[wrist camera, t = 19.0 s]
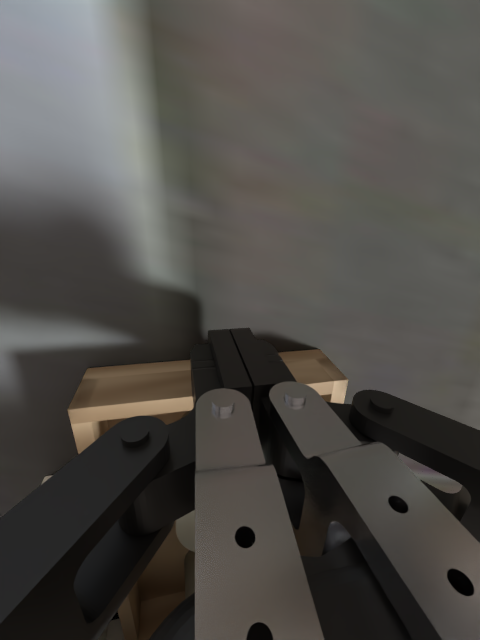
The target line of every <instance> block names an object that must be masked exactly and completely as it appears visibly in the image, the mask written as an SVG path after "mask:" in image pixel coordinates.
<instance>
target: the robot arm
mask: <svg viewBox="0 0 480 640" xmlns="http://www.w3.org/2000/svg"><path fill="white" fill-rule="evenodd" d="M190 362H191V387H192V397H193V406H194V407H193V409H192V410H191V412H190V413H189V414H187V415H186V416H185V417H183V418H182V419H180V420H178V421H175V422H173V423H170V424H168V425H166V424H165V423H164V422H163V421H162V420H160V419H158V418H156V417H153V416H135V417H131V418H127V419H125V420H123V421H121V422H119V423H117V424H116V425H114V426H113V427H112V428H110V429H109V430H108V431H107V432H105V433H104V434H103V435H102V436H101V437H99V438H98V439H97V440H96V441H94V442H93V443H92V444H91V445H89V446H88V447H87V448H86V449H85V450H83V451H82V452H81V453H80V454H78V455H77V456H76V457H75V458H74V459H72V460H71V461H70V462H69V463H67V464H66V465H65V466H64V467H63V468H61V469H60V470H59V471H58V472H56V473H55V474H54V475H53V476H51V477H50V478H49V479H48V480H47V481H45V482H44V483H43V484H42V485H40V486H39V487H38V488H37V489H36V490H34V491H33V492H32V493H31V494H29V495H28V496H27V497H26V498H25V499H23V500H22V501H21V502H20V503H18V504H17V505H16V506H15V507H13V508H12V509H11V510H10V511H9V512H7V513H6V514H5V515H4V516H2V517H1V518H0V640H98V639H99V637H100V636H101V634H102V633H103V631H104V630H105V628H106V627H107V625H108V624H109V622H110V621H111V619H112V618H113V616H114V615H115V613H116V612H117V610H118V609H119V607H120V606H121V604H122V603H123V601H124V600H125V598H126V597H127V595H128V594H129V592H130V591H131V589H132V588H133V586H134V585H135V583H136V582H137V580H138V579H139V578H140V576H141V575H142V573H143V572H144V570H145V569H146V567H147V566H148V564H149V563H150V561H151V560H152V558H153V557H154V555H155V554H156V552H157V551H158V549H159V548H160V546H161V545H162V543H163V542H164V540H165V539H166V537H167V536H168V534H169V533H170V531H171V529H172V527H173V524H174V521H175V520H177V519H179V518H181V517H183V516H184V515H186V514H188V513H190V512H192V511H194V510H195V592H194V593H192V594H191V595H190V596H189V597H187V598H186V599H185V600H184V601H182V602H181V603H180V604H179V605H178V606H177V607H176V608H175V609H174V610H173V611H172V612H171V613H170V614H169V615H168V616H167V617H166V618H165V619H164V620H163V622H162V623H161V624H160V625H159V627H158V628H157V629H156V630H155V632H154V633H153V634H152V635H151V637H150V639H149V640H480V430H477V429H475V428H472V427H470V426H467V425H465V424H462V423H460V422H457V421H455V420H452V419H450V418H447V417H445V416H442V415H440V414H437V413H435V412H432V411H430V410H427V409H425V408H422V407H420V406H417V405H415V404H412V403H410V402H407V401H405V400H402V399H400V398H397V397H395V396H392V395H390V394H387V393H384V392H381V391H376V390H363V391H360V392H358V393H356V394H355V395H354V397H353V401H352V405H351V404H342V403H333V402H326V401H325V400H324V399H323V398H322V397H321V396H320V395H319V393H318V392H317V391H316V390H314V389H313V388H312V387H310V386H308V385H306V384H303V383H299V382H297V381H296V379H295V378H294V376H293V375H292V373H291V372H290V370H289V369H288V367H287V366H286V364H285V363H284V362H283V360H282V358H281V357H280V355H279V354H278V352H277V350H276V349H275V347H274V346H273V345H271V344H270V343H268V342H267V341H265V340H256V339H255V337H254V335H253V334H252V332H251V330H250V328H238V329H223V330H209V331H208V344H197V345H195V346H194V347H193V349H192V350H191V352H190ZM399 453H401V454H403V455H405V456H407V457H409V458H411V459H413V460H415V461H417V462H419V463H421V464H423V465H425V466H427V467H429V468H431V469H433V470H435V471H437V472H439V473H441V474H443V475H445V476H447V477H449V478H451V479H453V480H455V481H457V482H459V483H460V484H462V485H463V486H462V489H461V490H460V491H459V492H458V493H454V494H450V493H445V492H443V491H441V490H439V489H437V488H435V487H433V486H431V485H429V484H427V483H425V482H424V481H422V480H420V479H419V478H418V477H417V476H416V475H415V474H414V473H413V472H412V471H411V470H410V469H409V468H408V467H407V466H406V465H405V464H404V463H403V461H402V460H401V459H400V458H399V457H398V454H399Z"/></svg>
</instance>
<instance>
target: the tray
mask: <svg viewBox="0 0 480 640" xmlns="http://www.w3.org/2000/svg"><path fill="white" fill-rule="evenodd" d="M278 354H279V355H280V357H281V358H282V360H283V362H284V363H285V364H286V366H287V367H288V369H289V370H290V372H291V373H292V375H293V376H294V378H295V379H296V381H297V382H299V383H303V384H306V385H308V386H310V387H312V388H313V389H314V390H316V391H317V392H318V393H319V395H320V396H321V397H322V398H323V399H324V400H325V401H326V402H333V403H342V404H344V399H345V394H346V389H347V384H348V379H347V378H346V377H345V376H344V374H343V373H342V372H341V371H340V370H339V369H338V368H337V367H336V366H335V365H334V364H333V363H332V362H331V361H330V360H329V359H328V358H327V357H326V355H325V354H324V353H323V352H322V351H321V350H320V349H315V350H303V351H291V352H279V353H278ZM193 407H194V406H193V397H192V387H191V362H190V360H181V361H169V362H156V363H144V364H132V365H120V366H108V367H95V368H87V370H86V372H85V374H84V376H83V378H82V380H81V383H80V385H79V387H78V389H77V391H76V393H75V395H74V397H73V399H72V401H71V403H70V405H69V408H68V414H69V418H70V422H71V426H72V430H73V434H74V438H75V442H76V446H77V450H78V454H80V453H81V452H82V451H83V450H85V449H86V448H87V447H88V446H89V445H91V444H92V443H93V442H94V441H96V440H97V439H98V438H99V437H101V436H102V435H103V434H104V433H105V432H107V431H108V430H109V429H110V428H112V427H113V426H114V425H116V424H117V423H119V422H121V421H123V420H125V419H127V418H131V417H135V416H153V417H156V418H158V419H160V420H162V421H163V422H164V423H165V424H166V425H168V424H170V423H173V422H175V421H178V420H180V419H182V418H183V417H185V416H186V415H187V414H189V413H190V412H191V410H192V409H193ZM194 592H195V510H194V511H192V512H190V513H188V514H186V515H184V516H183V517H181V518H179V519H177V520H175V521H174V524H173V527H172V529H171V531H170V533H169V534H168V536H167V537H166V539H165V540H164V542H163V543H162V545H161V546H160V548H159V549H158V551H157V552H156V554H155V555H154V557H153V558H152V560H151V561H150V563H149V564H148V566H147V567H146V569H145V570H144V572H143V573H142V575H141V576H140V578H139V579H138V580H137V582H136V583H135V585H134V586H133V588H132V589H131V591H130V592H129V594H128V595H127V597H126V598H125V600H124V601H123V603H122V604H121V606H120V607H119V609H118V614H119V618H120V622H121V626H122V630H123V634H124V638H125V640H149V639H150V637H151V635H152V634H153V633H154V632H155V630H156V629H157V628H158V627H159V625H160V624H161V623H162V622H163V620H164V619H165V618H166V617H167V616H168V615H169V614H170V613H171V612H172V611H173V610H174V609H175V608H176V607H177V606H178V605H179V604H180V603H181V602H182V601H184V600H185V599H186V598H187V597H189V596H190V595H191V594H192V593H194Z"/></svg>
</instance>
